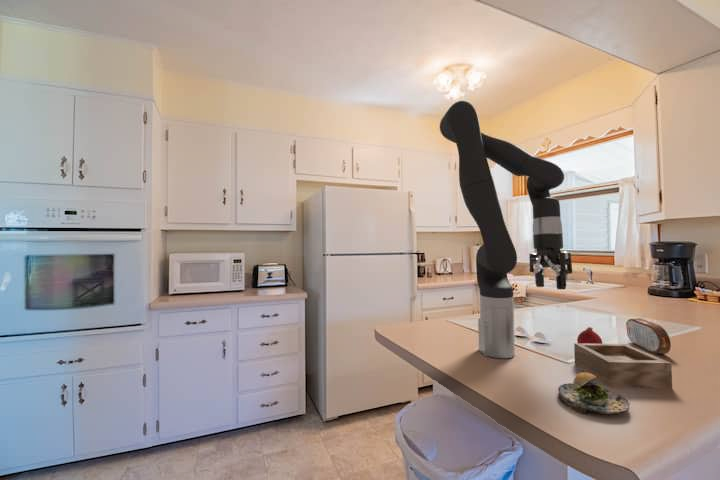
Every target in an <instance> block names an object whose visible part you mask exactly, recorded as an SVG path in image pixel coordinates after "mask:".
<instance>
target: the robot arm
mask: <svg viewBox="0 0 720 480" xmlns="http://www.w3.org/2000/svg"><path fill="white" fill-rule="evenodd" d="M480 125H481V124H480V120H479V114H478V112H477V110H476V108H475V107H474V106H473V104H472V103H470V102H468V101H467V100H466V101H465V100H459V101H456V102H455V103H453V104H452V105H451V106H450V107H449V108H448V109H447V111H446V112H445V114H444V115H443V116H442V118H441V120H440V123H439V130H440V134H441V135H442V137H444V139H446V140H448V141H449V142H452V143H455V144H456V149H457V153H458V181H459V188H460V191H461V195H462V197H463V202H464V203H465V206H466V208H467V210H468V212H469V214H470V216H471V217H472V218H473V220H474V222H475V223H476V225H477V227H478V230H479V232H480V235H481V238H482V242H483V244H482V245H481V246H479V248H478V249H477V252H476V257H475V267H476V269H475V270H476V271H475V272H476V282H477V285H478V289H479V318H477V319H478V320H477V321H478V323H477V326H478V329H477V331H478V332H477V333H478V350H479V351H480V352H481V353H482V354H483V356H484V357H492V358H496V359H511V358H513V357H515V356H516V355H515V352H516V351H515V350H516V348H515V313H514V310H515V309H514V306H515V305H514V287H513V286H512V284H511V283H510V282H509V281H510V280H509V279H508V274H509V273H511V272H512V271H513V270H514V269H515V268H516V265H517V262H518V255H517V251H516V247H515V245H514V243H513V240H512V238H511V235H510V233H509V230H508V228H507V225H506V223H505V219H504V215H503V212H502V208H501V205H500V201H499V198H498V193H497V188H496V186H495V185H496V184H495V182H494V178H493V175H492V172H491V168H490V165H489V161H488V160H490V161H492V162H494V163H495V164H497V165H498V166H500V167H501V168H503V169H504V170H506V171H507V172H509V173H511V174H512V175H514V176H516V177H524V176H526V177H527V179H526V190H527V194H528V196H529V200H530V202H531V205H532V220H533V221H532V242H533V243H532V244H533V250H536V253H533V252H532V253H529V272H530V273H533V274H534V279H535V286H536V287H537V288H543V287H545V277H544V275H545V274H544V273H545V271H546V270H547V269H548V268H551V270H553V271H554V273H555V274H556V276H555V282H556V289H557V290H566V288H567V276H568V275H571V274H573V265H572V264H573V263H572V256H571V255H572V254H571V252H570V251H561V249H563V248H564V237H563V224H562V219H561V206H560V205H561V204H560V200H559V199H558V198H556V197H551V193H550V190H551V191H552V189H556V188H558V187H559V186H561V185H562V184H563V183H564V180H565V174H564V171H563V170H562V168H561V167H560V166H559V165H557V164H556V163H554V162H551V161H549V160H546V159H543V158H540V157H537V156H534V155H532V154H530V153H528V152H527V151H526V150H524V149H522V148H521V147H519V146H518V145H516V144H515V143H512V142H510V141H508V140H504V139H500V138H496V137H493V136H491V135H487V134H485V133H483V132H481V126H480Z"/></svg>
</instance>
